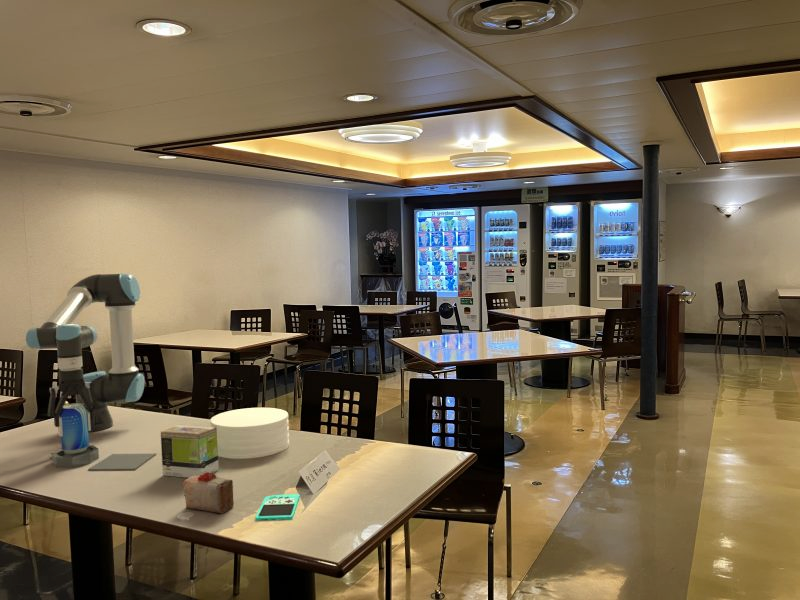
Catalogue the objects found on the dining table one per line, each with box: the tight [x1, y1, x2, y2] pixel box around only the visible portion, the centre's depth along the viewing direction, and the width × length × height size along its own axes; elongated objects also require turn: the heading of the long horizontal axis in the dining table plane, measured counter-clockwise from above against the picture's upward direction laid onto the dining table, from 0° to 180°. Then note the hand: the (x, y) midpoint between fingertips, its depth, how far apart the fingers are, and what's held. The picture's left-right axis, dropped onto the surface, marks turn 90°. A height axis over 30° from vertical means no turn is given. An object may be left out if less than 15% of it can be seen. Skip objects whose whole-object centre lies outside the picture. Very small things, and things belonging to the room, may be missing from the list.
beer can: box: [60, 402, 90, 454], centre depth 215 cm, size 8×8×16 cm
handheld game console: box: [255, 493, 300, 521], centre depth 170 cm, size 10×16×1 cm, turn 2°
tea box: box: [160, 424, 219, 479], centre depth 200 cm, size 15×10×15 cm
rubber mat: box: [87, 453, 157, 471], centre depth 212 cm, size 16×16×1 cm
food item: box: [182, 471, 235, 514], centre depth 171 cm, size 14×8×10 cm, turn 68°
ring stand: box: [51, 400, 100, 469], centre depth 217 cm, size 18×18×20 cm
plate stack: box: [209, 407, 290, 460], centre depth 227 cm, size 28×28×12 cm
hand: (74, 432), depth 215 cm, fingers closed on beer can, 8 cm apart
